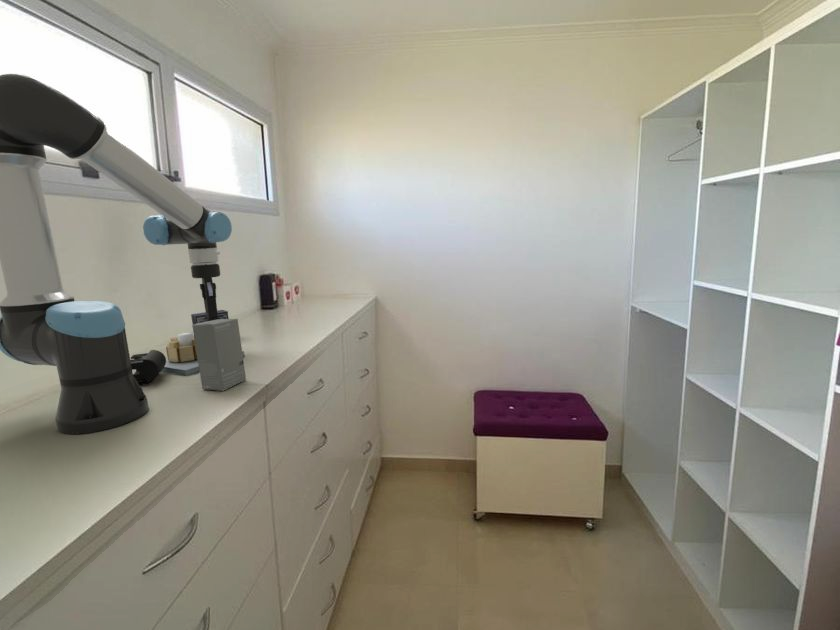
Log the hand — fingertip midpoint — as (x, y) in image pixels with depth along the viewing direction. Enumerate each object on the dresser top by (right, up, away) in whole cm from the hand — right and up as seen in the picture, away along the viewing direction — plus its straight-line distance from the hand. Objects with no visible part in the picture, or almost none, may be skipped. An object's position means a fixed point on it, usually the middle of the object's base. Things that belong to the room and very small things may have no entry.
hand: (215, 342), depth 132 cm
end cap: (-8, -9, -19) cm, 22 cm away
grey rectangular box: (+14, -9, -26) cm, 31 cm away
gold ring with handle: (-2, -3, -4) cm, 6 cm away
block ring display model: (-3, -5, -5) cm, 8 cm away
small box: (-10, -1, +20) cm, 22 cm away
